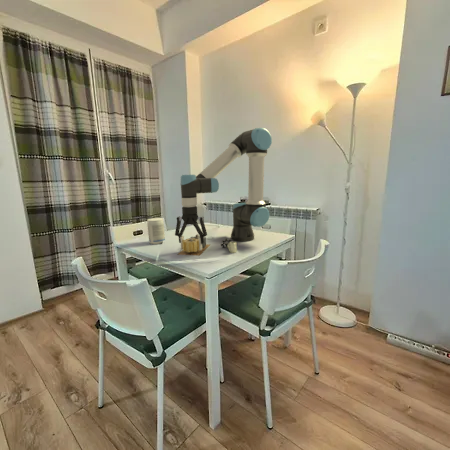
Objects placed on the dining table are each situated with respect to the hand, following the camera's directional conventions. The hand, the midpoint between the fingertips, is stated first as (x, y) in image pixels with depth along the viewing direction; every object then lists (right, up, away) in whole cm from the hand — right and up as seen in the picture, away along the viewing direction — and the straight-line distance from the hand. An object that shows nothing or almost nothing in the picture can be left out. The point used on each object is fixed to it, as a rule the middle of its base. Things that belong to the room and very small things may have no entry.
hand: (191, 249), depth 130 cm
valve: (+20, -2, +3) cm, 20 cm away
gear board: (+1, -2, +5) cm, 6 cm away
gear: (+2, 0, +10) cm, 10 cm away
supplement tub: (-25, +1, +26) cm, 36 cm away
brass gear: (0, 0, 0) cm, 0 cm away
